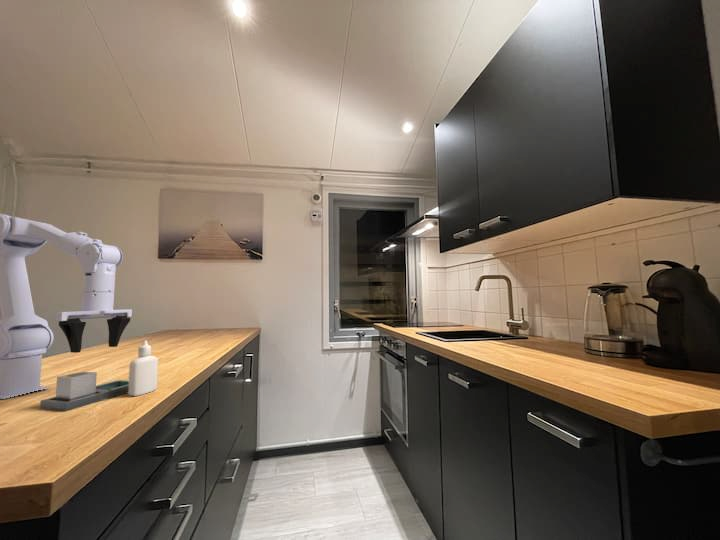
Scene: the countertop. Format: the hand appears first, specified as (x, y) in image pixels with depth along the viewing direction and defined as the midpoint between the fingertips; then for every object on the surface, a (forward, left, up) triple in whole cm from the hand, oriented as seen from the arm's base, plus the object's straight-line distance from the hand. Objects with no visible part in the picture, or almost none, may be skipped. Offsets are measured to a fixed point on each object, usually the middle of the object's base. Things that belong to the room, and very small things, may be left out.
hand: (95, 349), depth 69 cm
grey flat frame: (+4, -1, -10) cm, 11 cm away
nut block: (+4, -5, -10) cm, 12 cm away
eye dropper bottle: (+12, +3, -11) cm, 16 cm away
